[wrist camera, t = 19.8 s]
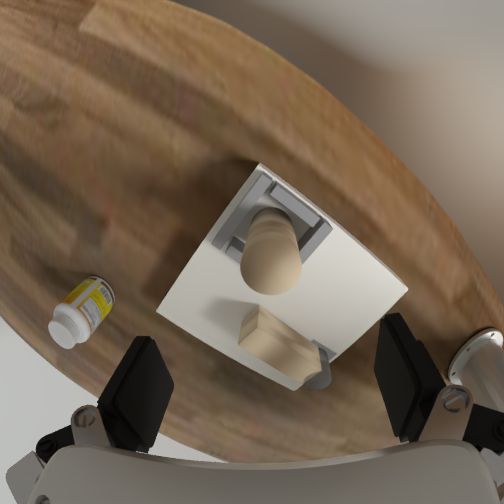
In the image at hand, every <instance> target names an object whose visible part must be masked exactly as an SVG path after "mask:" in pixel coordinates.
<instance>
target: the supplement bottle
mask: <svg viewBox="0 0 504 504" xmlns="http://www.w3.org/2000/svg"><path fill="white" fill-rule="evenodd" d="M114 303H115V296H114V293H113V290H112V289H111V287H110V286H109V284H108V283H107V282H105V281H104V280H103V279H101V278H99V277H94V276H93V277H88V278H86V279H85V280H84V281H83V282H82V283H81V284H80V285H78V286H77V287H76V288H75V289H74V290H73V291H72V292H71V293H70V294H69V295H68V296H67V297H65V298H64V299H63V300H62V301H61V302H60V303H59V304H58V305H57V306H56V307H55V309H54V313H53V316H54V318H53V319H52V320H51V321H50V323H49V325H48V329H49V332H50V335H51V336H52V338H53V339H54V340H55V342H56V343H57V344H59V345H60V346H61V347H63V348H66V349H71V348H73V347H74V345H75V344H76V343H83V342H85V341H86V340H87V339H88V338H89V337H90V336H91V334H92V333H93V332H94V331H95V329H96V328H97V327H98V325H99V324H100V323H101V322H102V321H103V319H104V318H105V317H106V316H107V314H108V313H109V312H110V311H111V309H112V308H113V306H114Z"/></svg>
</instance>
